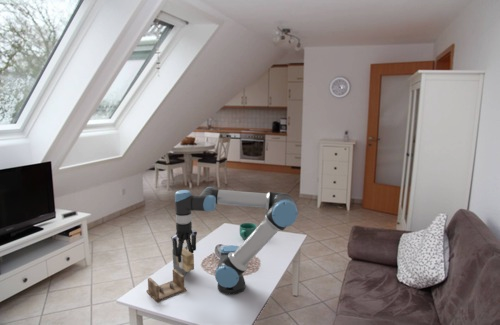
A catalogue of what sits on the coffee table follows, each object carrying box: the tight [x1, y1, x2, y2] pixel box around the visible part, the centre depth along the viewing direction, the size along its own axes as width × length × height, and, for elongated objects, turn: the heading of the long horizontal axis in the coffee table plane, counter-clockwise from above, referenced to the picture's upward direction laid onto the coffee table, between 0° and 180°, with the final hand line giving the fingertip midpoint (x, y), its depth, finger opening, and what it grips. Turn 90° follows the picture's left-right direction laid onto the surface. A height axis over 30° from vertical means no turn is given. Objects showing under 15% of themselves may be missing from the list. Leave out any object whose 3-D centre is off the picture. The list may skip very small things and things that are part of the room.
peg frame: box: [146, 268, 187, 303], centre depth 179 cm, size 12×17×8 cm
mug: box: [239, 222, 258, 240], centre depth 248 cm, size 17×13×10 cm
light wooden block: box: [177, 248, 195, 273], centre depth 169 cm, size 4×10×8 cm, turn 41°
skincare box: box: [172, 244, 188, 277], centre depth 198 cm, size 8×7×16 cm
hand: (185, 266), depth 169 cm, fingers closed on light wooden block, 4 cm apart
